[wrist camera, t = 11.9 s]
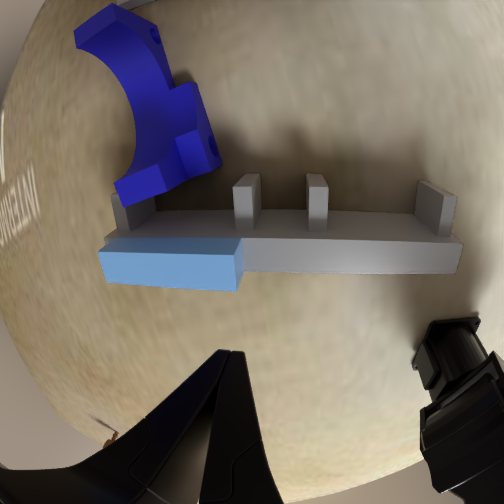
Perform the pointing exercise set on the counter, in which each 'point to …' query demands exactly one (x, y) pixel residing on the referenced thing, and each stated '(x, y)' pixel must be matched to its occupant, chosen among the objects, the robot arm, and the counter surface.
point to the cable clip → (151, 105)
